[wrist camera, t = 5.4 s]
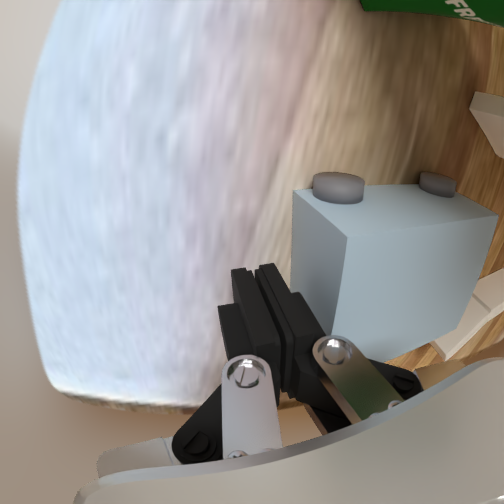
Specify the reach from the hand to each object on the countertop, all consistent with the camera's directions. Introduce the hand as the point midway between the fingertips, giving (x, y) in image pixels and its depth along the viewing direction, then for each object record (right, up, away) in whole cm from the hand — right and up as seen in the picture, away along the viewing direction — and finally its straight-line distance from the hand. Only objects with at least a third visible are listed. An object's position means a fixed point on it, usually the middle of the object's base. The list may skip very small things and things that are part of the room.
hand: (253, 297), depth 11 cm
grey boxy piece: (+6, +2, +3) cm, 7 cm away
